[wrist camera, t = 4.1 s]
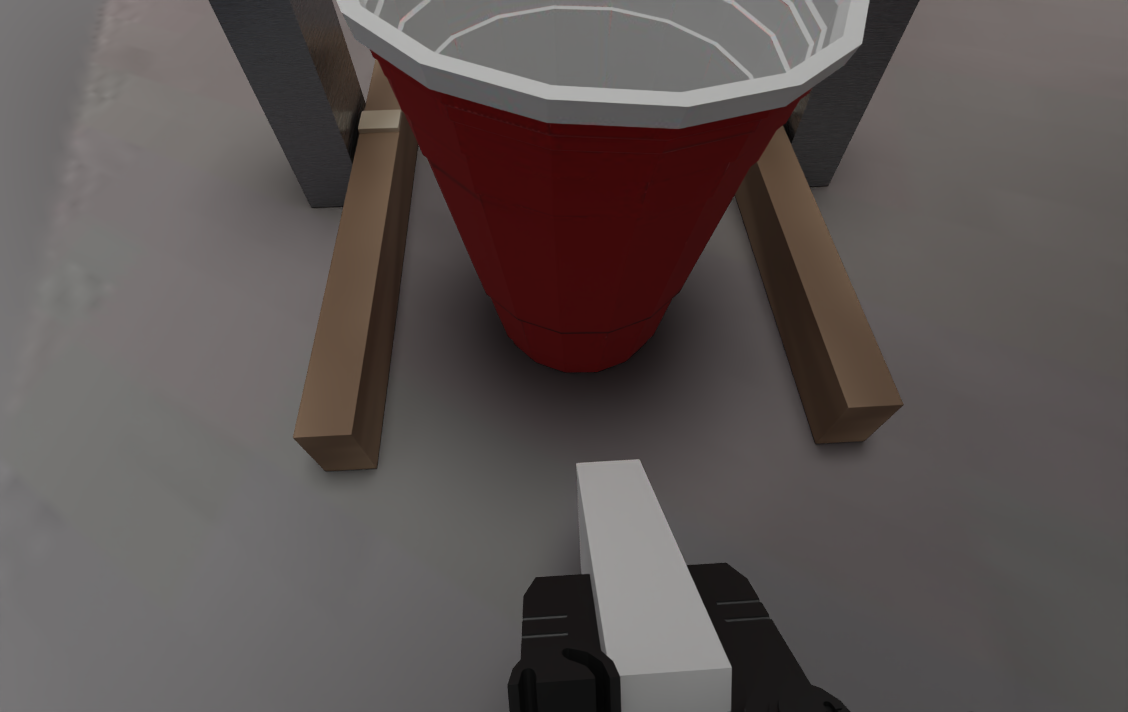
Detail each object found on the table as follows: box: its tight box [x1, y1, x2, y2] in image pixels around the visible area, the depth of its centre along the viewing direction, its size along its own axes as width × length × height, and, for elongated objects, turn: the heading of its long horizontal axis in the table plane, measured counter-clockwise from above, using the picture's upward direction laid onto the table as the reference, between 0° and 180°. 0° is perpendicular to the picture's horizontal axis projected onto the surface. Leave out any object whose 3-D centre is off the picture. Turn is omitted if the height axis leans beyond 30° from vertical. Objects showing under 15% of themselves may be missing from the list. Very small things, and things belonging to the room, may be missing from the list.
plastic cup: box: [336, 0, 869, 372], centre depth 16 cm, size 11×11×12 cm
